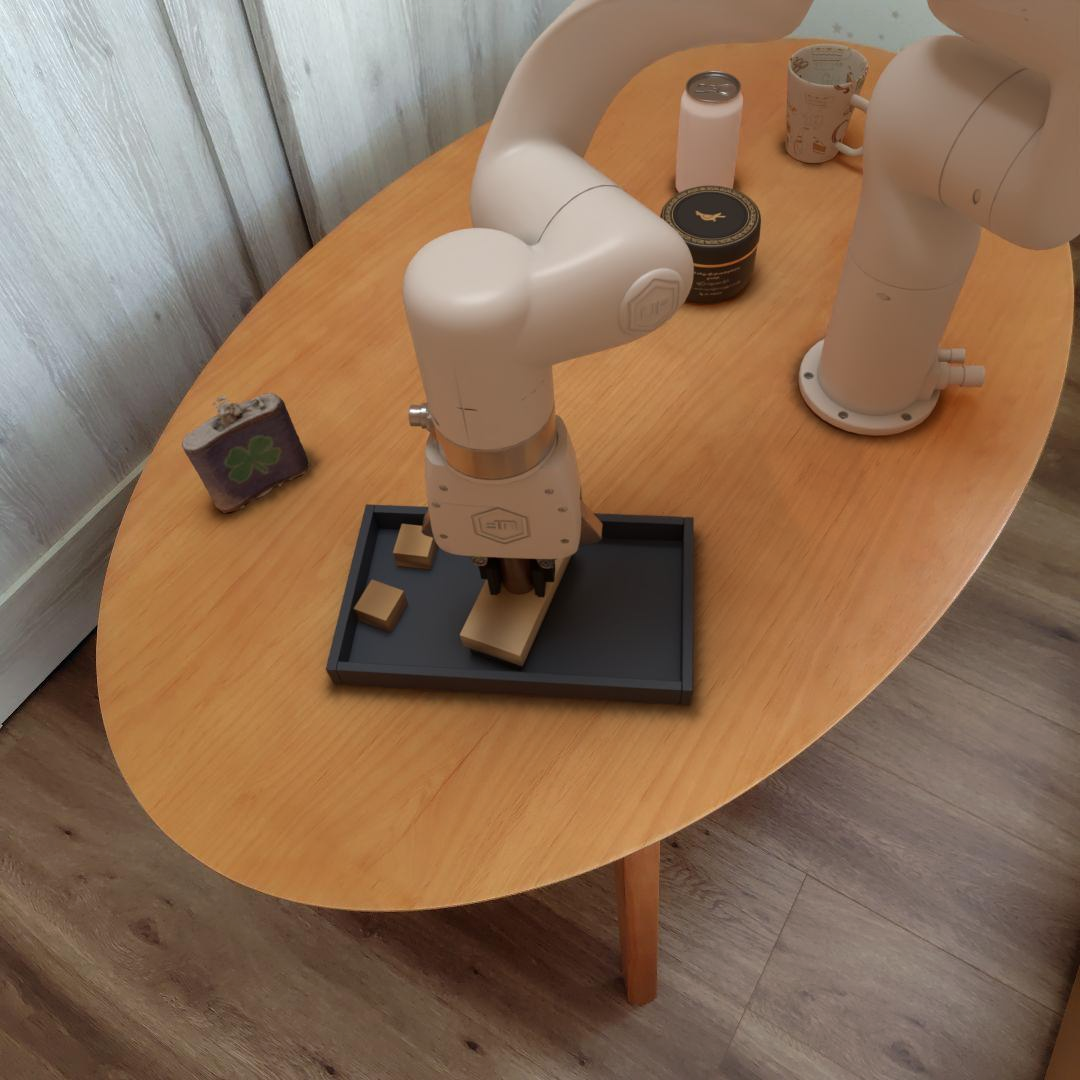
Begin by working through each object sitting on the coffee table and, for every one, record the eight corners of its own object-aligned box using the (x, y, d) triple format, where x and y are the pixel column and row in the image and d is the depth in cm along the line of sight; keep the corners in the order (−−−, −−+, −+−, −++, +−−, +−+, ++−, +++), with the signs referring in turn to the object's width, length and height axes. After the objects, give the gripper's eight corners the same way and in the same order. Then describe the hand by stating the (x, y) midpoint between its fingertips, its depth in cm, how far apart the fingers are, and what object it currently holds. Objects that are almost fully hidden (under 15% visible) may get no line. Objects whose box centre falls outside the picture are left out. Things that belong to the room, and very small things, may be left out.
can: (730, 207, 104) (742, 105, 94) (671, 203, 105) (677, 101, 95) (735, 172, 108) (747, 69, 98) (678, 168, 109) (685, 66, 99)
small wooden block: (408, 603, 77) (404, 590, 75) (390, 633, 76) (385, 620, 74) (376, 591, 78) (371, 578, 76) (358, 620, 76) (353, 608, 75)
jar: (764, 301, 95) (775, 239, 89) (668, 316, 95) (672, 255, 89) (738, 239, 101) (746, 176, 95) (646, 253, 101) (649, 191, 94)
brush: (579, 548, 78) (574, 484, 70) (524, 674, 73) (512, 620, 65) (524, 531, 80) (513, 466, 71) (465, 653, 74) (447, 598, 66)
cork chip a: (439, 540, 80) (436, 527, 79) (431, 569, 79) (427, 556, 77) (405, 536, 81) (401, 523, 79) (397, 565, 79) (392, 552, 78)
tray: (690, 539, 80) (693, 516, 77) (689, 709, 71) (692, 691, 68) (373, 526, 83) (365, 504, 80) (335, 688, 74) (325, 669, 71)
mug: (806, 118, 112) (821, 35, 104) (894, 161, 107) (918, 76, 99) (760, 149, 110) (772, 66, 101) (849, 195, 104) (869, 110, 96)
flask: (224, 518, 84) (178, 440, 75) (210, 498, 86) (164, 419, 77) (315, 468, 87) (281, 387, 78) (300, 449, 88) (266, 368, 80)
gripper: (353, 466, 57) (408, 617, 72) (625, 475, 55) (623, 627, 70) (376, 375, 61) (424, 536, 76) (630, 380, 59) (627, 544, 74)
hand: (519, 579), depth 73 cm, fingers closed on brush, 2 cm apart
